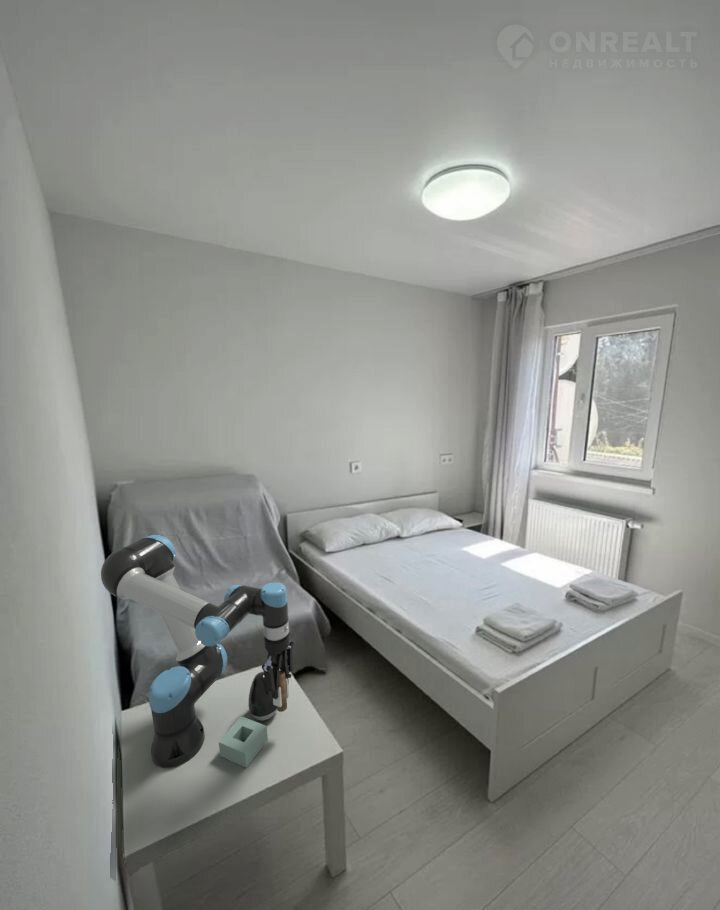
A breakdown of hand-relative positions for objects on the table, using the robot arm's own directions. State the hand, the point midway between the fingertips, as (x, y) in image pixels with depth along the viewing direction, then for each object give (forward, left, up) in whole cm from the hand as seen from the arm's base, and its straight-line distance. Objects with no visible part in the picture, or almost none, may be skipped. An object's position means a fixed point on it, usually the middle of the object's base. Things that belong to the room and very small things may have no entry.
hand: (281, 700), depth 125 cm
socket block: (-8, -9, -12) cm, 17 cm away
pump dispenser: (-10, +4, -12) cm, 17 cm away
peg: (0, 0, -3) cm, 3 cm away
